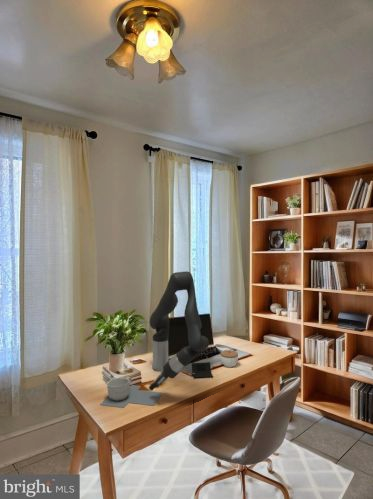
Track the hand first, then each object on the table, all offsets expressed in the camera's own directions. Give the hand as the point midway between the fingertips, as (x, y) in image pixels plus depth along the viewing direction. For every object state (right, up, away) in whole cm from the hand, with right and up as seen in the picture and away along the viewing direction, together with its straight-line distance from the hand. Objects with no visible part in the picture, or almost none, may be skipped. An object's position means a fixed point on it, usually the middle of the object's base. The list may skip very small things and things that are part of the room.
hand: (150, 388), depth 153 cm
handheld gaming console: (+26, -4, +27) cm, 38 cm away
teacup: (-15, -5, +1) cm, 15 cm away
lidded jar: (+44, -4, +41) cm, 60 cm away
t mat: (-8, -5, +2) cm, 10 cm away
